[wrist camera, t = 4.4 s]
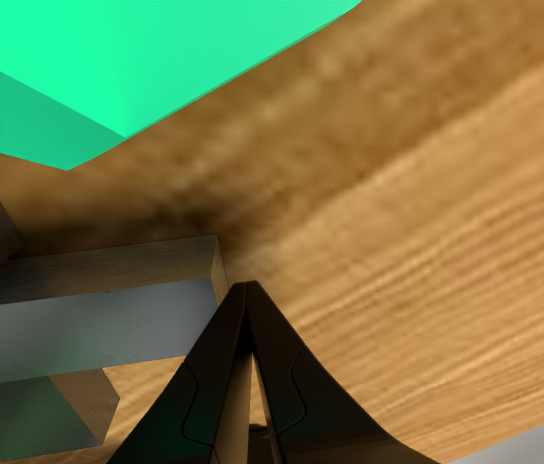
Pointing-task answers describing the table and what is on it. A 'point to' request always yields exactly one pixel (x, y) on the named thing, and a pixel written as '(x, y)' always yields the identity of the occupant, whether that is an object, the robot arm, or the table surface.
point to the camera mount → (129, 64)
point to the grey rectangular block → (107, 306)
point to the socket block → (51, 398)
